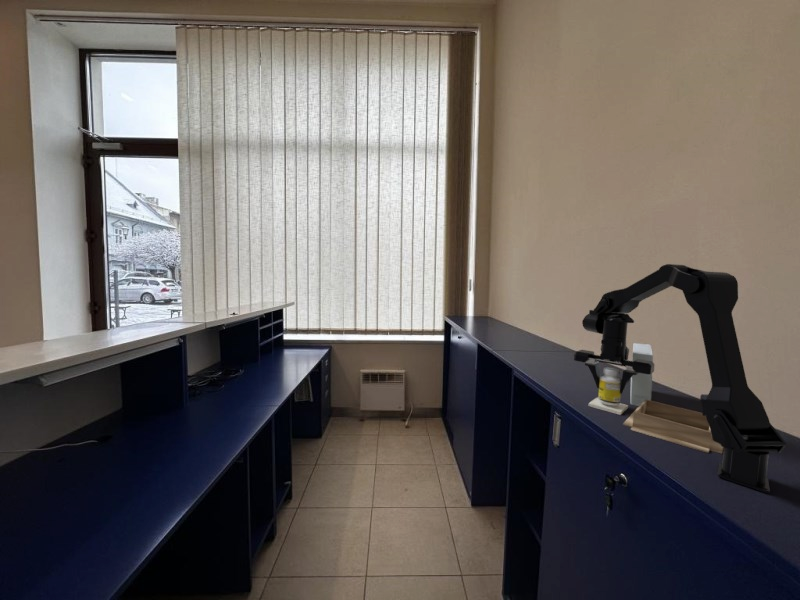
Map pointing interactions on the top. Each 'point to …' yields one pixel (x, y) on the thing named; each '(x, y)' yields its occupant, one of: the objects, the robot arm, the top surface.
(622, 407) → the tile
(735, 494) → the top surface
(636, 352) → the skincare box
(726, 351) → the robot arm
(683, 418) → the light brown piece
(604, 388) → the supplement bottle
